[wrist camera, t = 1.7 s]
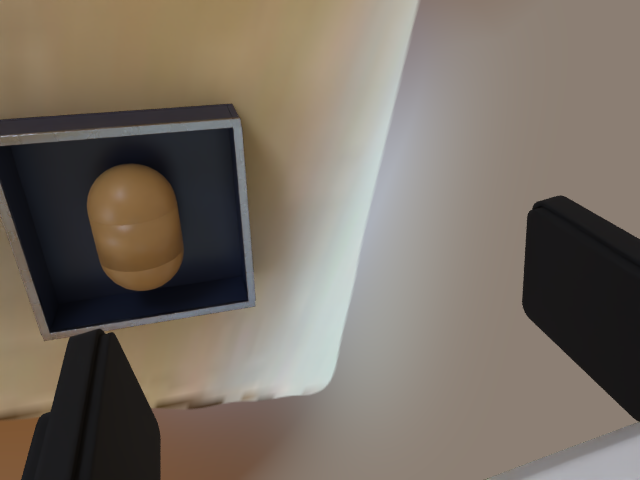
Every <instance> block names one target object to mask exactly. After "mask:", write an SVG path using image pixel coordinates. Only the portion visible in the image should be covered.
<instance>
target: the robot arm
mask: <svg viewBox="0 0 640 480" xmlns="http://www.w3.org/2000/svg"><path fill="white" fill-rule="evenodd" d="M526 232H527V233H526V247H525V265H524V281H523V298H522V305H523V308H524V311H525V313H526V315H527V316H528V317H529V319H531V320H532V321H533V322H534V323H535V324H536V325H537V326H538V327H539V328H540V329H541V330H542V331H543V332H544V333H545V334H546V335H547V336H548V337H549V338H550V339H551V340H552V341H553V342H555V343H556V344H557V345H558V346H559V347H560V348H561V349H562V350H563V351H564V352H565V353H566V354H567V355H568V356H569V357H570V358H571V359H572V360H573V361H574V362H575V363H576V364H578V365H579V366H580V367H581V368H582V369H583V370H584V371H585V372H586V373H587V374H588V375H589V376H590V377H591V378H592V379H593V380H594V381H595V382H596V383H597V384H598V385H599V386H601V387H602V388H603V389H604V390H605V391H606V392H607V393H608V394H609V395H610V396H611V397H612V398H613V399H614V400H615V401H616V402H617V403H618V404H619V405H620V406H621V407H622V408H624V409H625V410H626V411H627V412H628V413H629V414H630V415H631V416H632V417H633V418H634V419H636V420H637V421H639V422H637V423H635V424H632V425H629V426H627V427H624V428H621V429H618V430H616V431H613V432H610V433H608V434H605V435H602V436H599V437H597V438H594V439H591V440H589V441H586V442H583V443H581V444H578V445H575V446H573V447H570V448H567V449H565V450H562V451H559V452H557V453H554V454H551V455H549V456H546V457H543V458H541V459H538V460H536V461H533V462H530V463H527V464H525V465H522V466H519V467H517V468H514V469H511V470H509V471H506V472H503V473H501V474H498V475H495V476H493V477H490V478H487V479H485V480H640V239H638V238H637V237H634V236H633V235H631V234H629V233H628V232H626V231H624V230H623V229H621V228H619V227H617V226H616V225H614V224H612V223H610V222H609V221H607V220H605V219H603V218H602V217H600V216H598V215H596V214H594V213H593V212H591V211H589V210H588V209H586V208H584V207H582V206H581V205H579V204H577V203H575V202H574V201H572V200H570V199H568V198H567V197H564V196H556V197H552V198H549V199H546V200H542V201H538V202H536V203H535V204H534V206H533V208H532V210H531V211H529V213H528V216H527V231H526ZM21 480H160V431H159V427H158V423H157V421H156V418H155V416H154V414H153V412H152V410H151V408H150V406H149V404H148V402H147V399H146V397H145V395H144V393H143V391H142V389H141V387H140V385H139V383H138V381H137V379H136V377H135V375H134V372H133V370H132V368H131V366H130V364H129V362H128V360H127V358H126V356H125V354H124V352H123V350H122V347H121V345H120V343H119V341H118V339H117V337H116V335H115V334H114V333H113V332H111V333H107V334H105V333H104V331H103V330H102V329H100V328H99V329H95V330H92V331H89V332H85V333H82V334H78V335H75V336H72V337H70V338H69V341H68V344H67V348H66V352H65V356H64V360H63V364H62V368H61V372H60V376H59V380H58V384H57V388H56V392H55V396H54V401H53V405H52V409H51V412H49V413H45V414H43V415H42V416H41V417H40V418H39V420H38V422H37V424H36V428H35V431H34V435H33V438H32V442H31V446H30V450H29V453H28V457H27V461H26V464H25V468H24V471H23V475H22V479H21Z"/></svg>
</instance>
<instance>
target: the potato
mask: <svg viewBox="0 0 640 480" xmlns="http://www.w3.org/2000/svg"><path fill="white" fill-rule="evenodd" d="M87 212H88V217H89V221H90V225H91V229H92V233H93V237H94V241H95V245H96V249H97V253H98V257H99V261H100V264H101V266H102V268H103V270H104V272H105V273H106V275H107V276H108V277H109V278H110V279H111V280H112V281H113V282H115V283H116V284H118V285H120V286H122V287H124V288H126V289H129V290H135V291H147V290H152V289H155V288H158V287H160V286H162V285H164V284H165V283H167V282H168V281H169V280H171V279H172V278H173V276H174V275H175V274H176V273H177V272H178V270H179V268H180V265H181V263H182V260H183V254H184V244H183V238H182V231H181V225H180V218H179V212H178V205H177V200H176V196H175V193H174V190H173V188H172V186H171V184H170V183H169V182H168V181H167V179H166V178H165V177H164V176H163V175H161V174H160V173H159V172H158V171H156V170H154V169H152V168H150V167H148V166H145V165H140V164H134V163H129V164H121V165H117V166H114V167H112V168H110V169H108V170H106V171H105V172H103V173H102V174H101V175H100V176H99V177H98V178H97V179H96V180H95V182H94V183H93V185H92V186H91V188H90V191H89V194H88V198H87Z"/></svg>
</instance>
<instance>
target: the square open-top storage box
mask: <svg viewBox="0 0 640 480" xmlns="http://www.w3.org/2000/svg"><path fill="white" fill-rule="evenodd" d="M129 163H134V164H140V165H145V166H148V167H150V168H152V169H154V170H156V171H158V172H159V173H160V174H161V175H163V176H164V177H165V178H166V179H167V181H168V182H169V183H170V184H171V186H172V188H173V190H174V193H175V196H176V200H177V205H178V212H179V218H180V225H181V231H182V238H183V244H184V254H183V260H182V263H181V265H180V268H179V270H178V272H177V273H176V274H175V275H174V276H173V278H172V279H171V280H169V281H168V282H167V283H165V284H164V285H162V286H160V287H158V288H155V289H152V290H147V291H135V290H129V289H126V288H124V287H122V286H120V285H118V284H116V283H115V282H113V281H112V280H111V279H110V278H109V277H108V276H107V275H106V273H105V272H104V270H103V268H102V266H101V264H100V261H99V257H98V253H97V249H96V245H95V241H94V237H93V233H92V229H91V225H90V221H89V217H88V212H87V198H88V194H89V191H90V188H91V186H92V185H93V183H94V182H95V180H96V179H97V178H98V177H99V176H100V175H101V174H102V173H103V172H105V171H106V170H108V169H110V168H112V167H114V166H117V165H121V164H129ZM0 215H1V218H2V221H3V224H4V227H5V230H6V233H7V236H8V239H9V241H10V244H11V247H12V250H13V253H14V256H15V259H16V262H17V265H18V268H19V271H20V274H21V277H22V280H23V283H24V286H25V289H26V292H27V294H28V297H29V300H30V303H31V306H32V309H33V312H34V315H35V318H36V321H37V324H38V327H39V330H40V333H41V335H42V336H43V339H44V341H47V340H53V339H59V338H66V337H72V336H75V335H78V334H82V333H85V332H89V331H92V330H95V329H99V328H100V329H102V330H103V331H108V330H114V329H120V328H126V327H133V326H139V325H145V324H151V323H157V322H163V321H169V320H175V319H181V318H187V317H194V316H200V315H206V314H212V313H218V312H224V311H230V310H236V309H242V308H248V307H254V306H255V301H256V297H255V284H254V271H253V259H252V246H251V233H250V221H249V208H248V195H247V183H246V170H245V158H244V145H243V132H242V126H241V119H240V117H239V116H238V114H237V112H236V110H235V108H234V106H233V104H221V105H206V106H191V107H177V108H162V109H148V110H133V111H119V112H104V113H90V114H75V115H61V116H46V117H32V118H17V119H3V120H0Z"/></svg>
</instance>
